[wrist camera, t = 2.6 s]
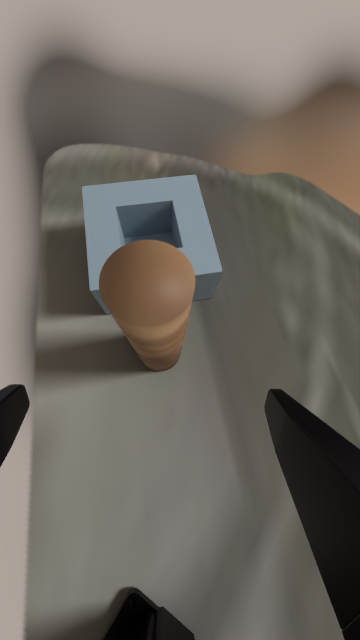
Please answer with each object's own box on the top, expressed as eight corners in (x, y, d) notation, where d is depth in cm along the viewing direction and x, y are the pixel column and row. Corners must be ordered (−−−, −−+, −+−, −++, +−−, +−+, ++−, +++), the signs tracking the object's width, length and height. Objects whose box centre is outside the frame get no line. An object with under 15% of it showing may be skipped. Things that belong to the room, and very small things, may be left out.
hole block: (211, 298, 23) (222, 271, 18) (106, 314, 22) (89, 290, 17) (191, 215, 26) (195, 174, 22) (98, 226, 25) (81, 186, 21)
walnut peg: (164, 379, 20) (158, 345, 8) (131, 355, 21) (77, 289, 9) (188, 345, 22) (213, 270, 9) (155, 323, 22) (138, 224, 10)
